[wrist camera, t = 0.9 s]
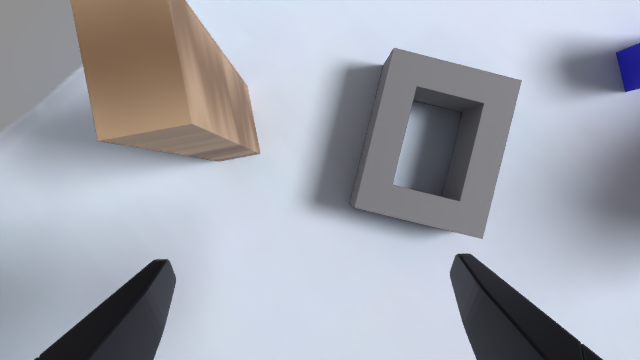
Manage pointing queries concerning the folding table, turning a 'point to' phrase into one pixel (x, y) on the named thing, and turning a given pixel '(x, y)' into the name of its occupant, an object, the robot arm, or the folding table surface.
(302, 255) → the folding table surface
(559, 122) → the folding table surface
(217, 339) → the folding table surface
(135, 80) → the slat
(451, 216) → the gray block with hole
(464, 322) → the robot arm
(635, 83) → the cable clip
